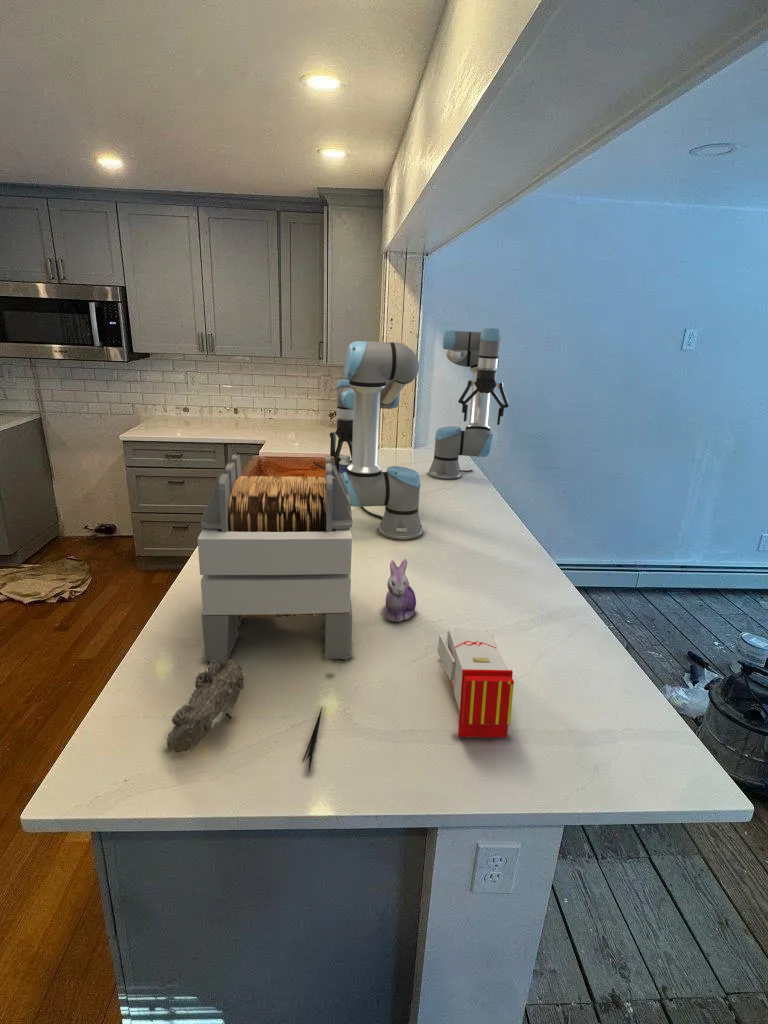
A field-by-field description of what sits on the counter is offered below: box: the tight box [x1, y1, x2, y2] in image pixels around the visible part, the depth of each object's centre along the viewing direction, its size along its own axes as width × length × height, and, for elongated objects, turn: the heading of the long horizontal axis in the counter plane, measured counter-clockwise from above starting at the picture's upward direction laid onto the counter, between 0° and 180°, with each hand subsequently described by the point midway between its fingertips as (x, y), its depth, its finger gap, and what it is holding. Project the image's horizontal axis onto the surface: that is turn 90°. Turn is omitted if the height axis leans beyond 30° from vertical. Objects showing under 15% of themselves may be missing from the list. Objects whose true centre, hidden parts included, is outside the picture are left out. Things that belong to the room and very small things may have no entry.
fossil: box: [166, 658, 245, 754], centre depth 106 cm, size 22×10×15 cm
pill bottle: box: [339, 454, 351, 479], centre depth 235 cm, size 5×5×9 cm
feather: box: [301, 673, 332, 771], centre depth 108 cm, size 2×28×2 cm
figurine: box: [384, 558, 417, 623], centre depth 145 cm, size 9×10×15 cm
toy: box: [437, 628, 515, 738], centre depth 117 cm, size 12×13×30 cm
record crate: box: [197, 454, 354, 663], centre depth 134 cm, size 34×33×41 cm
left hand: (345, 474), depth 236 cm, fingers closed on pill bottle, 5 cm apart
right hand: (481, 422), depth 231 cm, fingers open, 13 cm apart
